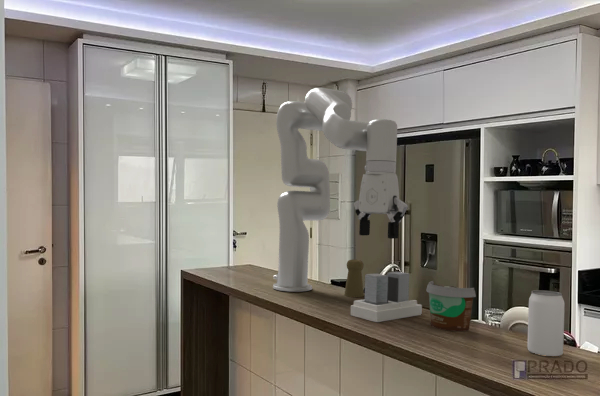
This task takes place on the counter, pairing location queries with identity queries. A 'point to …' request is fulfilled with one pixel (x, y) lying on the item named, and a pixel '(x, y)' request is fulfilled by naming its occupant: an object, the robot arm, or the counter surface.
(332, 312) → the counter surface
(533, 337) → the can
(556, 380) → the counter surface
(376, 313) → the white stepped block base
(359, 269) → the cork
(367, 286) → the upright gray prism
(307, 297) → the counter surface
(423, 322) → the counter surface
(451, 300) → the food container
